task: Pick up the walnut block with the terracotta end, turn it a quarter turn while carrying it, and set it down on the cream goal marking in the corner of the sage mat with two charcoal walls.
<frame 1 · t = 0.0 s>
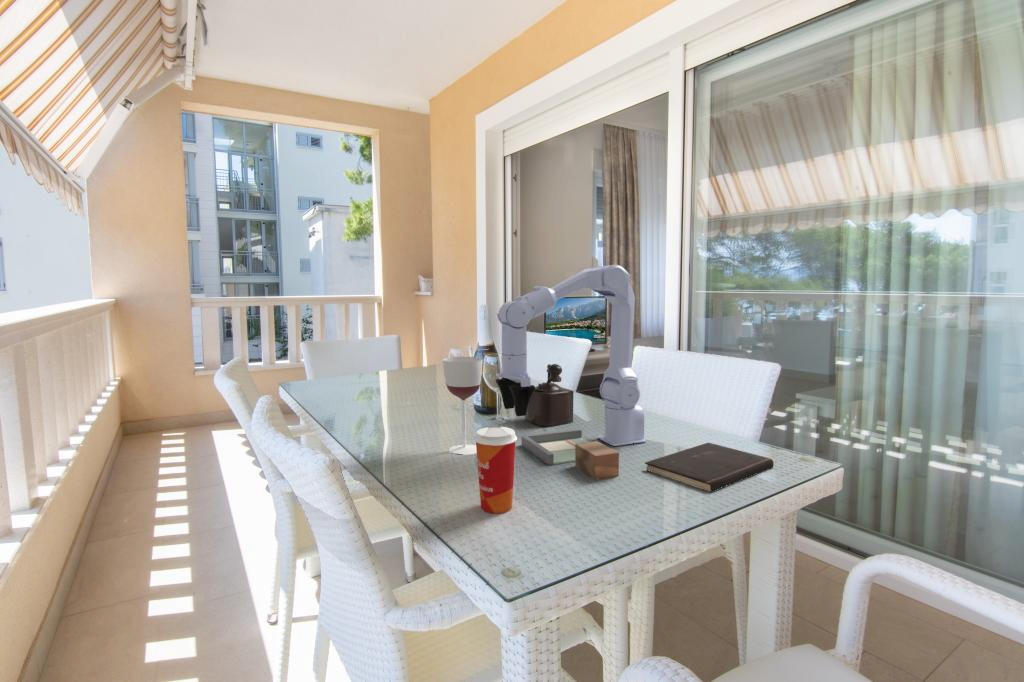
hand: (514, 412, 128), 10 cm above the table, tool pointing down, fingers open, 7 cm apart
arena: (565, 450, 132), on the table
hardcover book: (709, 472, 119), on the table
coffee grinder: (553, 424, 157), on the table
wineglass: (464, 450, 133), on the table
walnut block: (596, 470, 118), on the table
paper cup: (496, 508, 100), on the table
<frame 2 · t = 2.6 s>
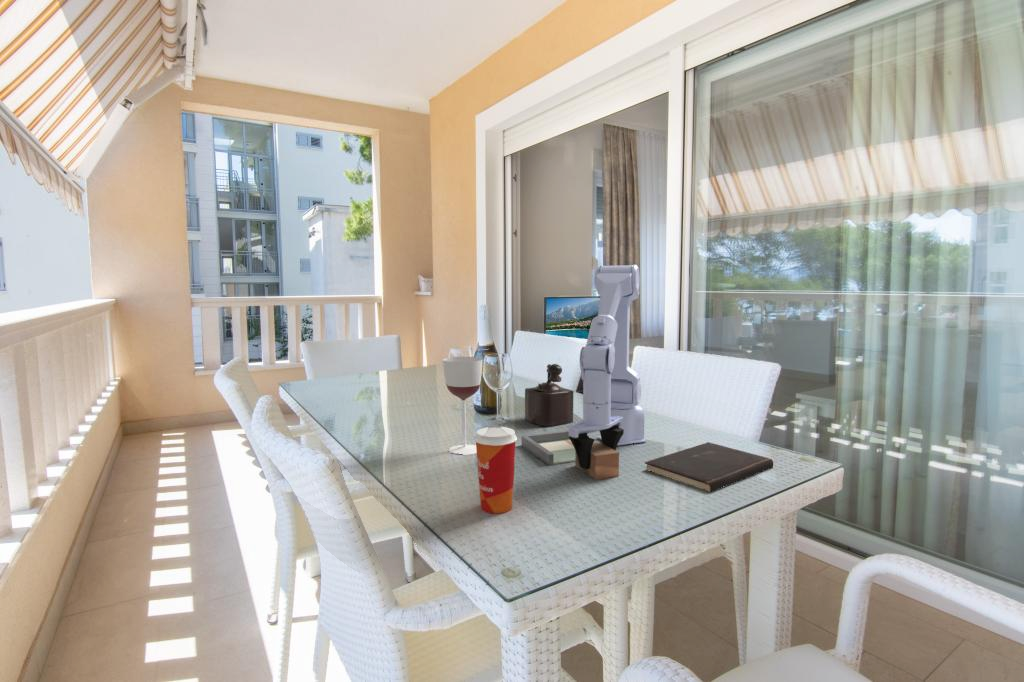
hand: (596, 464, 118), 1 cm above the table, tool pointing down, fingers closed on walnut block, 7 cm apart
walnut block: (596, 470, 118), on the table, touching gripper
everything else where it was.
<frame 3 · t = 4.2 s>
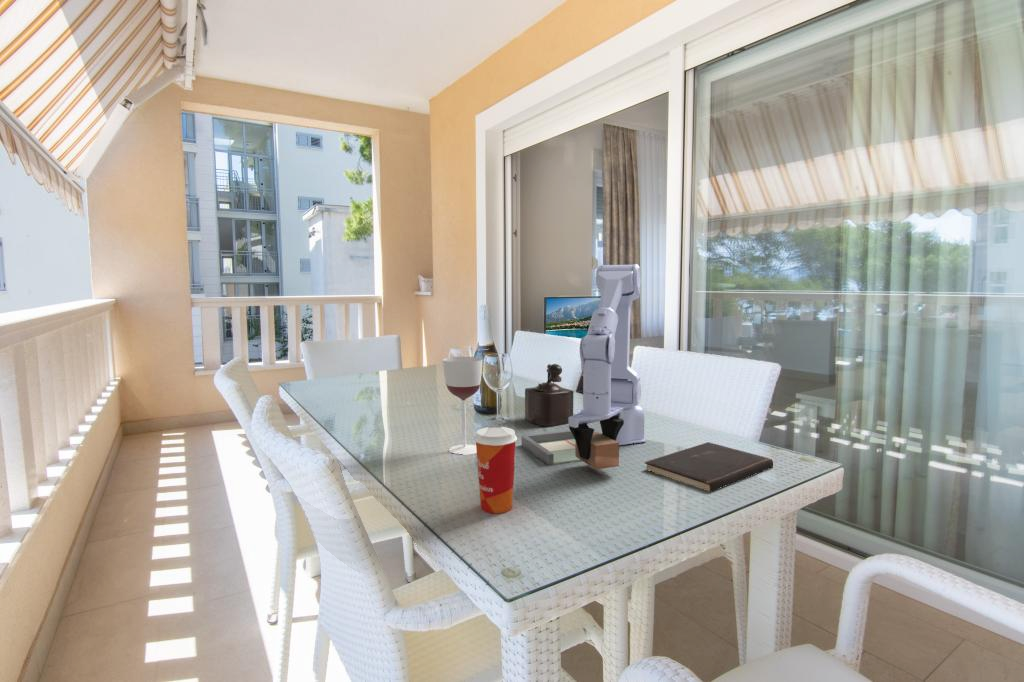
hand: (596, 454, 118), 4 cm above the table, tool pointing down, fingers closed on walnut block, 7 cm apart
walnut block: (596, 461, 118), point 2 cm above the table, touching gripper
everything else where it was.
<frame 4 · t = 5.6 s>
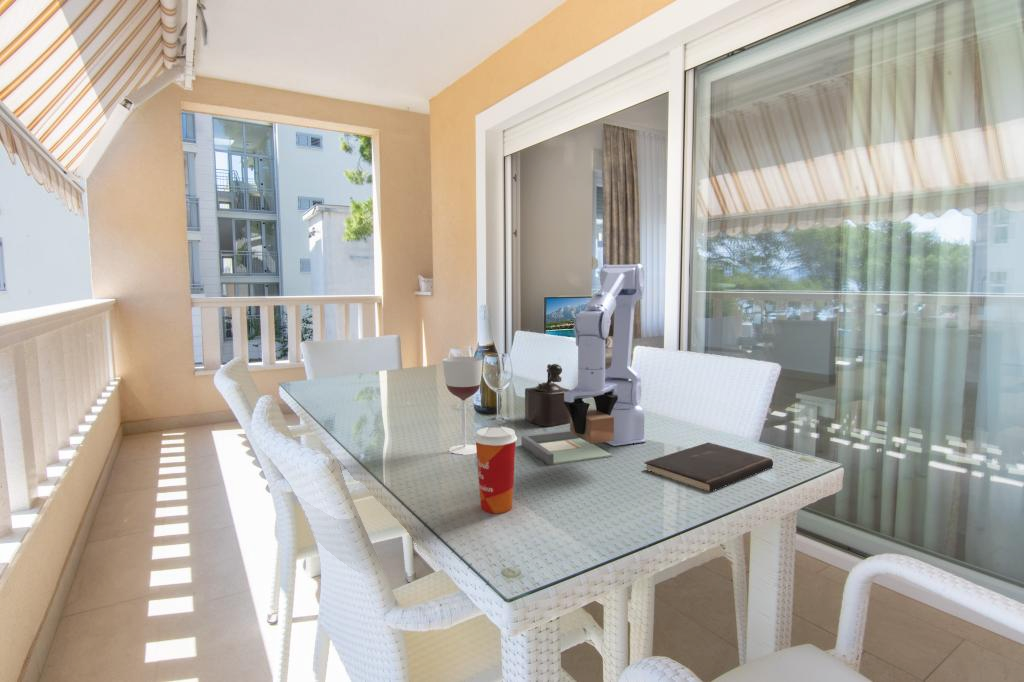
hand: (591, 430, 119), 8 cm above the table, tool pointing down, fingers closed on walnut block, 7 cm apart
walnut block: (591, 436, 119), point 7 cm above the table, touching gripper
everything else where it was.
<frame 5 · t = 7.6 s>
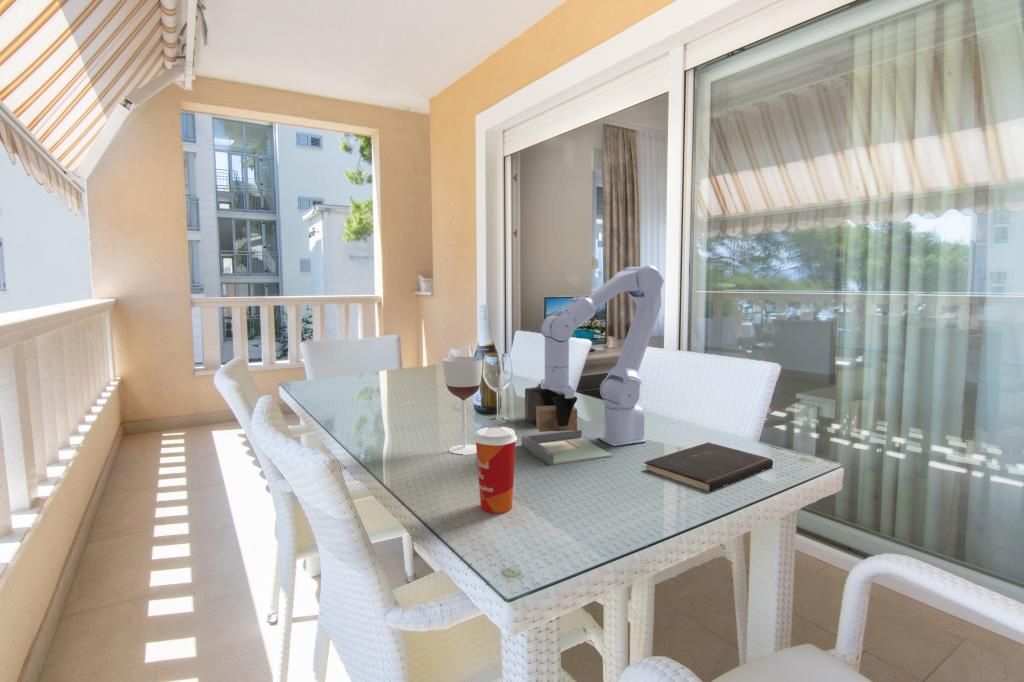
hand: (556, 422, 133), 6 cm above the table, tool pointing down, fingers closed on walnut block, 6 cm apart
walnut block: (556, 428, 133), point 5 cm above the table, touching gripper
everything else where it was.
when the fingers open (3 cm above the table, at t = 9.0 s): walnut block stays where it is, resting on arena.
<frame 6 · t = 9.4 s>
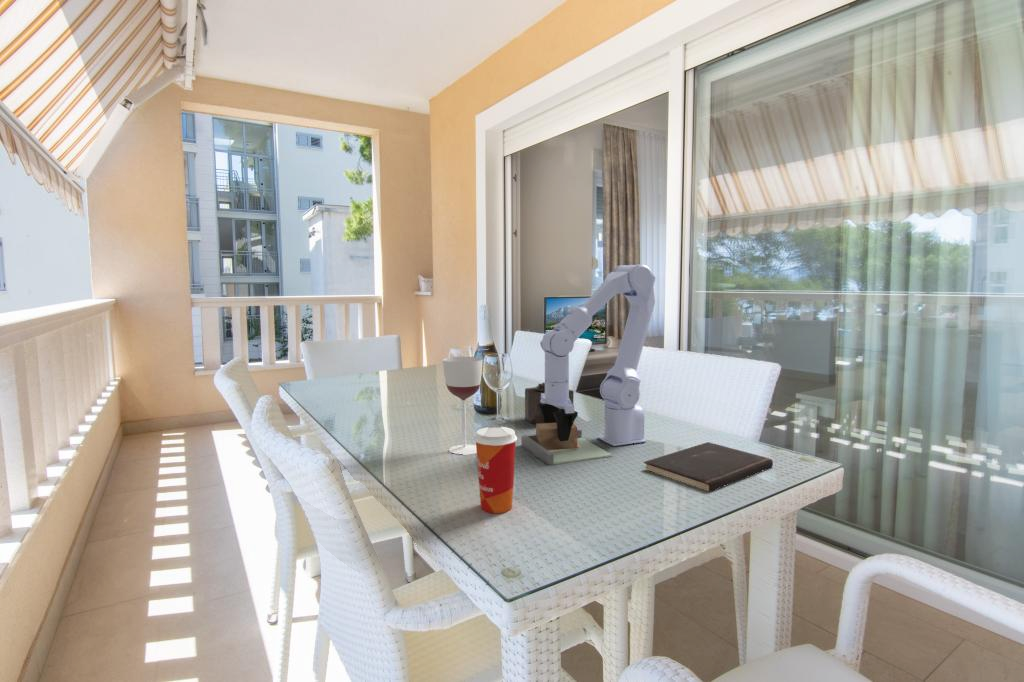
hand: (556, 436, 133), 3 cm above the table, tool pointing down, fingers open, 7 cm apart
walnut block: (556, 445, 133), point 1 cm above the table, touching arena
everything else where it was.
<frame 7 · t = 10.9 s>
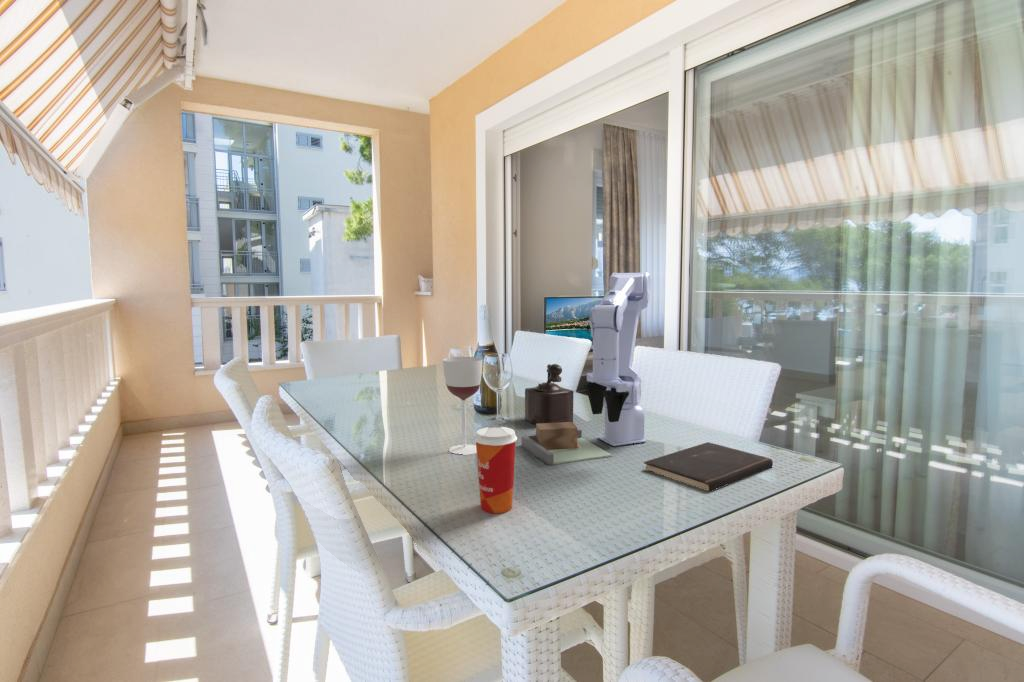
hand: (605, 417, 126), 9 cm above the table, tool pointing down, fingers open, 7 cm apart
nothing on the table moved.
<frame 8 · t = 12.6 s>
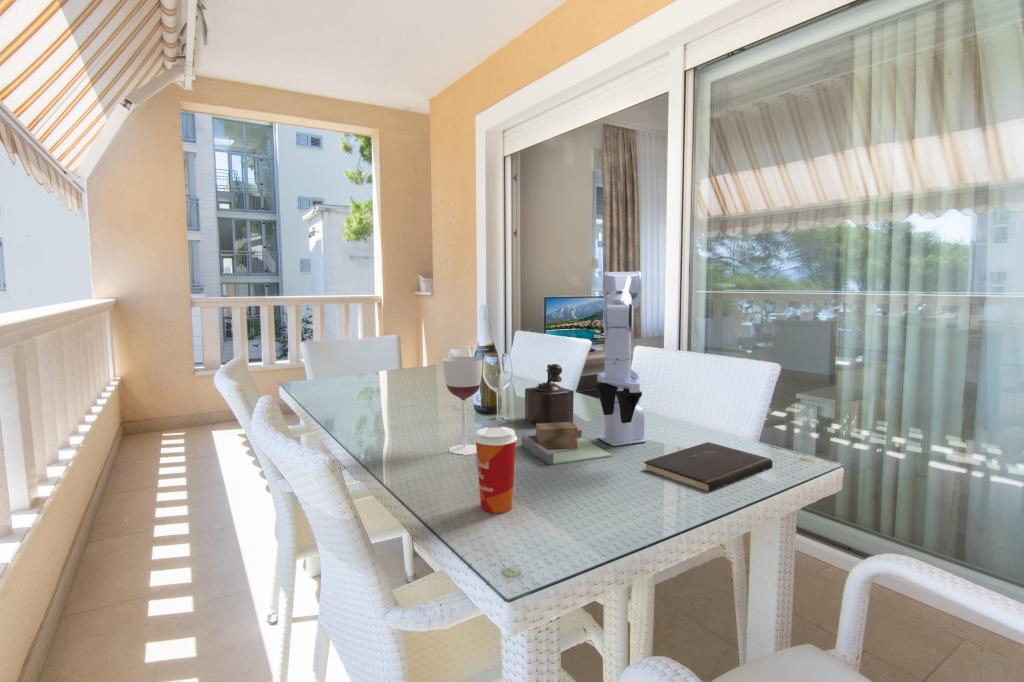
hand: (617, 418, 124), 9 cm above the table, tool pointing down, fingers open, 7 cm apart
nothing on the table moved.
at the end: walnut block 0.1 cm from the target spot on the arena, point 0.7 cm above the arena's base; walnut block tilted 1°; the gripper is holding nothing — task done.
